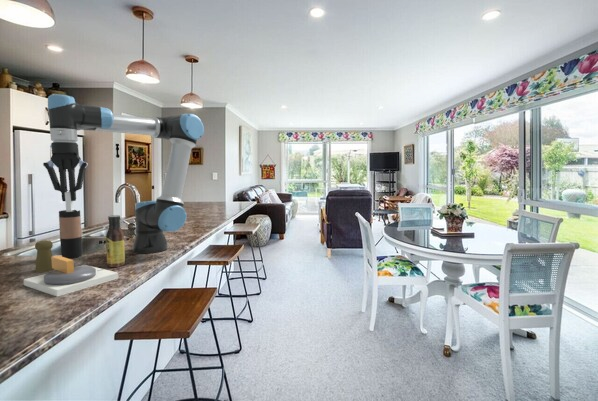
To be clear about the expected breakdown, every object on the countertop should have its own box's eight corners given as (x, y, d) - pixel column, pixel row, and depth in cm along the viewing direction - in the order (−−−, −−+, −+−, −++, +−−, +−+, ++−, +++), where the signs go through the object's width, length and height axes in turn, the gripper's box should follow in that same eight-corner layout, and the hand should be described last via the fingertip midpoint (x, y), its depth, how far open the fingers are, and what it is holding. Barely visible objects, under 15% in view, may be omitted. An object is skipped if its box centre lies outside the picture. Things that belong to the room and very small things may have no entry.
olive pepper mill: (44, 272, 119) (42, 243, 118) (30, 271, 120) (28, 242, 119) (59, 267, 125) (57, 239, 124) (46, 266, 126) (44, 238, 125)
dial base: (85, 269, 123) (84, 264, 122) (118, 278, 113) (118, 272, 113) (23, 285, 106) (23, 278, 106) (57, 296, 97) (56, 289, 96)
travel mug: (59, 259, 136) (56, 212, 134) (63, 255, 143) (61, 210, 141) (80, 258, 139) (78, 211, 137) (84, 253, 146) (82, 209, 144)
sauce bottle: (108, 264, 130) (106, 214, 128) (126, 262, 132) (124, 214, 131) (105, 268, 124) (103, 217, 122) (124, 267, 126) (122, 216, 125)
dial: (104, 275, 109) (103, 259, 109) (55, 287, 98) (54, 269, 97) (77, 266, 119) (77, 251, 118) (30, 277, 107) (29, 260, 107)
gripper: (36, 141, 106) (43, 212, 109) (83, 141, 110) (88, 211, 113) (46, 142, 113) (52, 210, 116) (89, 143, 117) (94, 208, 120)
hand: (70, 210), depth 114 cm, fingers closed
